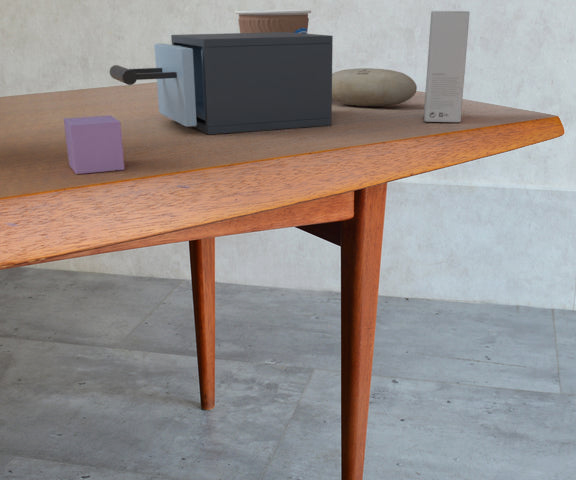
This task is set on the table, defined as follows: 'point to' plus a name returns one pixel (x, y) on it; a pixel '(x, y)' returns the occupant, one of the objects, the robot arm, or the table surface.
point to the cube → (94, 144)
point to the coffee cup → (273, 21)
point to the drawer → (173, 81)
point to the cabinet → (264, 80)
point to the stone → (372, 87)
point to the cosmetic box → (446, 66)
